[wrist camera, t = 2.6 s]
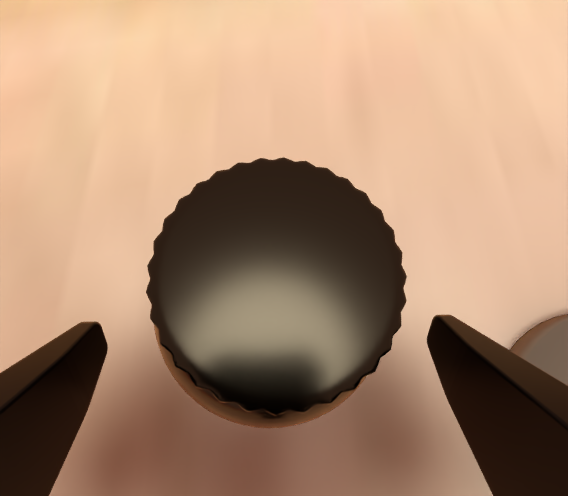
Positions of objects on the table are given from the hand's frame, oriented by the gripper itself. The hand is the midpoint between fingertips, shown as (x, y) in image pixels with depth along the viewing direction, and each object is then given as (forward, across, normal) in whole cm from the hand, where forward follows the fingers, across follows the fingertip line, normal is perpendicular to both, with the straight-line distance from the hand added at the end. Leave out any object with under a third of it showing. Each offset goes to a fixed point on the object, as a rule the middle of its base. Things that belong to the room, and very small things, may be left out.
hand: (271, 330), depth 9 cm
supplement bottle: (+7, 0, +6) cm, 9 cm away
